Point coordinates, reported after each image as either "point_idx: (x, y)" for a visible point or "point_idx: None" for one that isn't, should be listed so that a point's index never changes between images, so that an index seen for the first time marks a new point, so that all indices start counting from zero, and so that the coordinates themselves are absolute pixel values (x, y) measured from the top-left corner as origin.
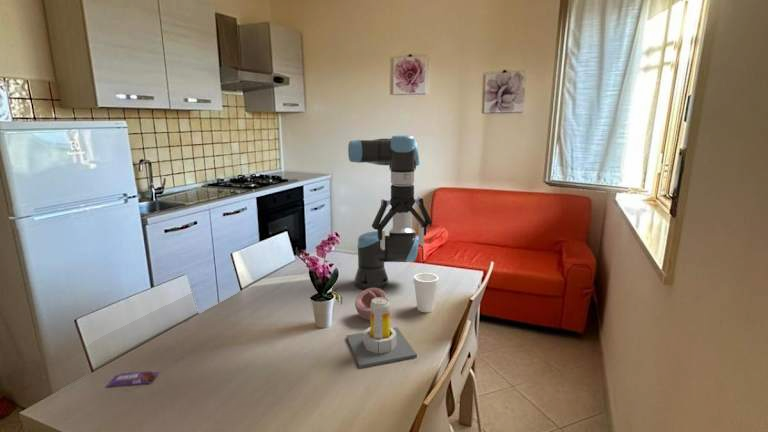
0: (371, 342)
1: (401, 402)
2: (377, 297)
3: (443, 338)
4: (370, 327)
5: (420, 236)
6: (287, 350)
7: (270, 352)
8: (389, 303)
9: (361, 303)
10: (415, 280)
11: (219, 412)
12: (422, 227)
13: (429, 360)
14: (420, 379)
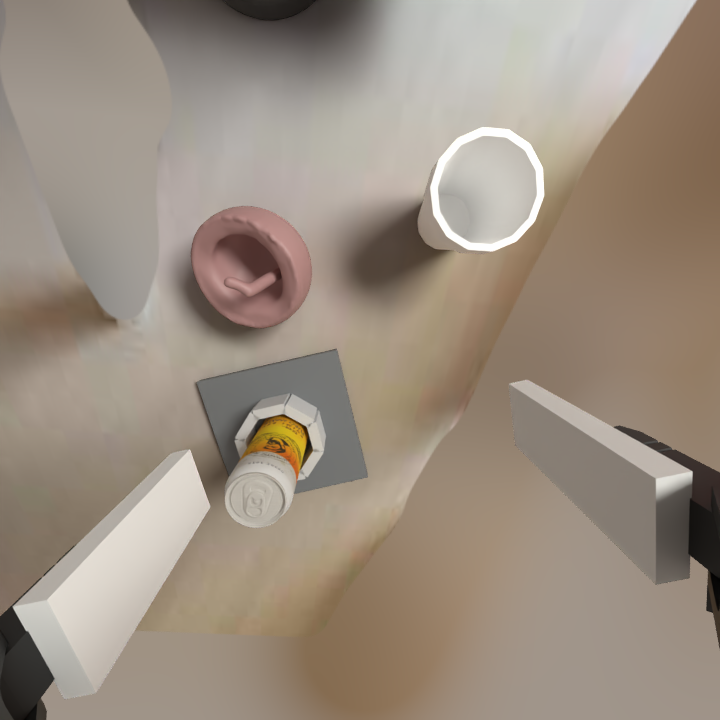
0: None
1: (318, 594)
2: (245, 475)
3: (448, 401)
4: (253, 414)
5: (559, 464)
6: (58, 424)
7: (18, 430)
8: (291, 496)
9: (216, 273)
10: (431, 214)
11: (3, 600)
12: (668, 580)
13: (392, 484)
14: (361, 541)
